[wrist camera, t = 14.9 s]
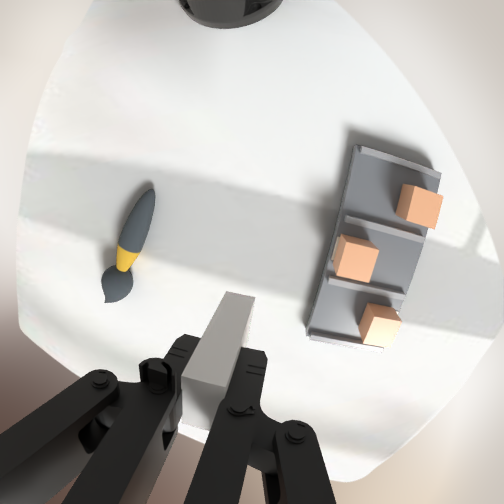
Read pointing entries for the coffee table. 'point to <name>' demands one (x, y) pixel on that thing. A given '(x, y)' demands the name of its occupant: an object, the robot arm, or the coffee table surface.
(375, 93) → the coffee table surface
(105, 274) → the paintbrush
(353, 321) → the switch bank
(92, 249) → the coffee table surface
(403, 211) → the tab
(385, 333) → the tan cube
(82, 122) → the coffee table surface
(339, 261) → the peach cube
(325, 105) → the coffee table surface
